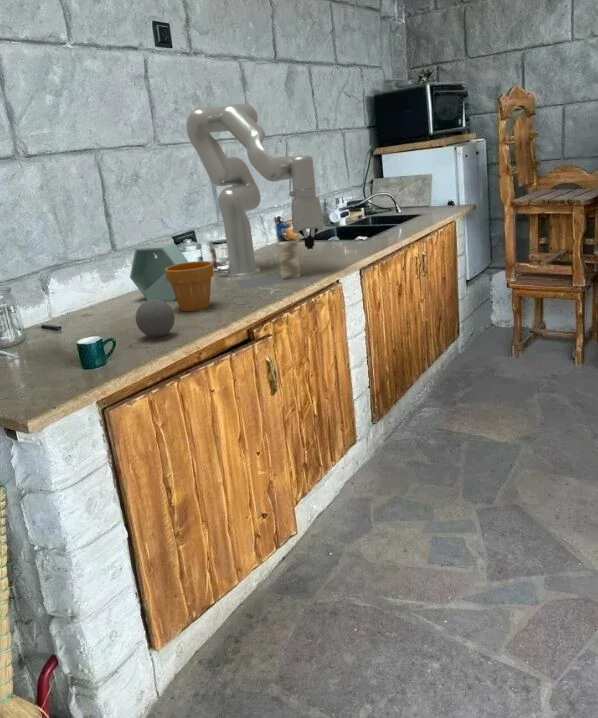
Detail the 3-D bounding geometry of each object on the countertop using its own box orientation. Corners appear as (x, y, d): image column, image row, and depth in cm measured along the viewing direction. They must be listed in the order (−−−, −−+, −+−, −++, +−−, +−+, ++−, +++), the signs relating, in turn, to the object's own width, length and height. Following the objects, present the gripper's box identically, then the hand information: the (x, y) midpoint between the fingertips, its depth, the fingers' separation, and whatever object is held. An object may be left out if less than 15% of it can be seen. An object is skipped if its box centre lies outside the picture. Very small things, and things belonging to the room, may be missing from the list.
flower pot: (222, 300, 216) (216, 259, 212) (213, 311, 202) (207, 268, 198) (177, 304, 217) (171, 263, 213) (166, 315, 204) (159, 272, 200)
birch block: (283, 279, 234) (279, 244, 230) (280, 276, 240) (276, 242, 236) (300, 277, 235) (296, 242, 231) (297, 274, 240) (293, 240, 237)
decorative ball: (175, 339, 177) (169, 301, 174) (136, 343, 177) (129, 306, 174) (178, 329, 187) (173, 293, 184) (142, 333, 186) (135, 297, 183)
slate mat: (241, 289, 228) (240, 288, 228) (236, 282, 241) (236, 280, 241) (311, 279, 232) (311, 278, 231) (303, 272, 245) (303, 271, 245)
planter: (158, 314, 227) (119, 264, 225) (169, 308, 234) (132, 259, 232) (191, 285, 219) (151, 233, 217) (202, 280, 226) (163, 229, 224)
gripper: (284, 197, 225) (290, 253, 231) (328, 192, 228) (333, 247, 233) (280, 196, 232) (286, 250, 238) (323, 190, 235) (328, 244, 240)
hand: (309, 248), depth 236 cm, fingers closed
